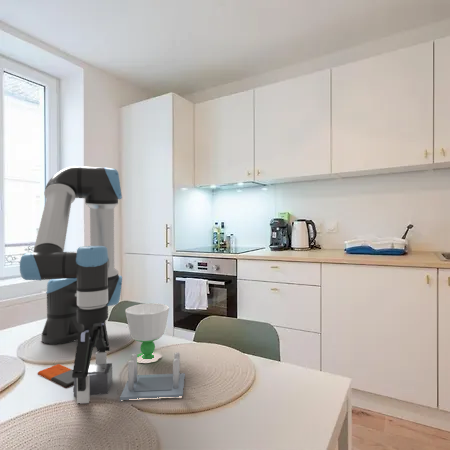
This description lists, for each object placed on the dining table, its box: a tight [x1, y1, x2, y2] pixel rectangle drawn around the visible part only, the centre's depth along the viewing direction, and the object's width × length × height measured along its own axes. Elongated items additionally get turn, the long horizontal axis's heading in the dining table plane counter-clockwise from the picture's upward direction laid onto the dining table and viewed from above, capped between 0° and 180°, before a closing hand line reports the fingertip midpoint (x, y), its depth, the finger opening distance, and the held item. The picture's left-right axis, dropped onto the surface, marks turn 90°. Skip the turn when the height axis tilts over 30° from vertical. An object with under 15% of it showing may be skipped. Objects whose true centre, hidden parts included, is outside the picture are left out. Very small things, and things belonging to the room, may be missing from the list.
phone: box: [37, 363, 74, 389], centre depth 88 cm, size 6×1×15 cm
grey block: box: [72, 362, 113, 398], centre depth 81 cm, size 6×8×6 cm
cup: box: [124, 302, 170, 359], centre depth 100 cm, size 14×14×16 cm
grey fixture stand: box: [119, 351, 186, 402], centre depth 81 cm, size 11×15×8 cm
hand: (92, 388), depth 81 cm, fingers open, 13 cm apart
